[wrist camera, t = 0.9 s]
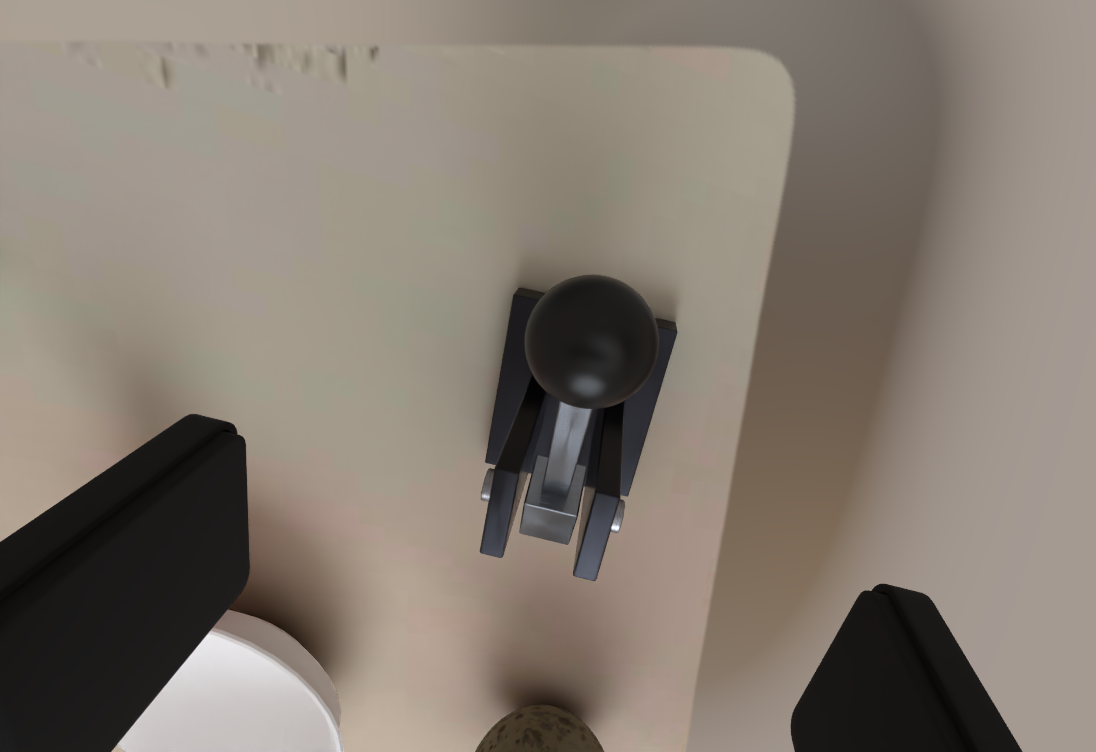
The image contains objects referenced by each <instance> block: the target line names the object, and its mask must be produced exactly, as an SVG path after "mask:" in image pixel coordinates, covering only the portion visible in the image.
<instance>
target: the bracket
mask: <svg viewBox="0 0 1096 752" xmlns="http://www.w3.org/2000/svg"><path fill="white" fill-rule="evenodd" d="M545 294H546V293H542V292H537V291H533V290H528V289H524V288H518V289H517V291H516V292H515V294H514V295H513V300H512V306H511V312H510V318H509V324H508V330H507V336H506V342H505V347H504V353H503V359H502V365H501V371H500V377H499V383H498V389H497V395H496V401H495V406H494V412H493V418H492V424H491V430H490V436H489V442H488V448H487V454H486V460H485V462H486V463H489V464H493V465H496V466H495V469H491V468H489V469H488V471H487V473H486V476H485V479H484V483H483V487H482V492H481V500H483V501H487V502H489V503H488V508H487V514H486V519H485V525H484V531H483V536H482V542H481V547H480V553H482V554H486V555H490V556H495V557H499V558H502V557H503V555H504V552H505V548H506V545H507V542H508V538H509V535H510V532H511V528H512V525H513V522H514V518H515V515H516V512H517V509H518V505H519V502H520V499H521V495H522V492H523V489H524V485H525V482H526V479H527V475H528V473H531V474H532V471H533V467H534V463H535V459H536V456H537V455H541V456H545V457H548V456H549V451H550V446H551V441H552V437H553V432H554V427H555V422H556V417H557V413H558V408H559V403H560V401H559V400H557V399H555V398H554V397H552V396H551V395H550V394H549V393H547V392H546V391H545V390H544V389H543V388H542V386H541V385H540V384H539V383H538V382H537V380H536V379H535V377H534V375H533V374H532V372H531V370H530V367H529V364H528V361H527V358H526V352H525V332H526V327H527V323H528V320H529V317H530V315H531V313H532V311H533V309H534V307H535V306H536V304H537V303H538V301H539V300H540V299H541V298H542V297H543V296H544V295H545ZM655 320H656V324H657V328H658V334H659V349H658V355H657V359H656V363H655V366H654V368H653V370H652V372H651V374H650V376H649V378H648V379H647V381H646V382H645V383H644V385H643V386H642V387H641V388H640V389H639V390H638V391H637V392H636V393H635V394H633V395H632V396H630V397H629V398H628V399H626V400H624V401H623V402H621V403H618V404H616V405H613V406H610V407H606V408H600V409H592V412H591V416H590V420H589V423H588V427H587V430H586V434H585V437H584V441H583V444H582V448H581V451H580V455H579V458H578V462H577V464H579V465H583V466H586V467H587V470H586V476H585V481H584V486H585V491H584V498H583V505H582V512H581V519H580V526H579V534H578V541H577V548H576V555H575V562H574V569H573V576H576V577H580V578H584V579H588V580H592V581H595V580H596V579H597V575H598V572H599V569H600V565H601V562H602V558H603V555H604V552H605V548H606V545H607V542H608V538H609V535H610V532H615V533H618V532H619V530H620V527H621V524H622V520H623V515H624V508H625V502H624V500H621V499H620V495H623V496H628V495H629V491H630V488H631V485H632V481H633V478H634V475H635V471H636V468H637V465H638V461H639V458H640V455H641V451H642V448H643V445H644V441H645V438H646V435H647V432H648V428H649V425H650V422H651V418H652V415H653V412H654V408H655V405H656V402H657V398H658V395H659V392H660V388H661V385H662V382H663V378H664V375H665V372H666V368H667V365H668V362H669V359H670V355H671V352H672V349H673V345H674V342H675V339H676V335H677V327H676V323H675V322H671V321H667V320H662V319H658V318H655Z"/></svg>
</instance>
